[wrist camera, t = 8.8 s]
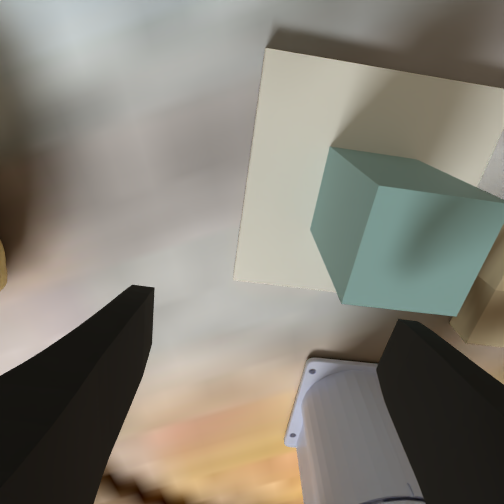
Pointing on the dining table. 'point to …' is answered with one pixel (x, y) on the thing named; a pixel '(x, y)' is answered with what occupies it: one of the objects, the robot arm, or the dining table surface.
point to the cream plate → (347, 137)
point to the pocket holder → (485, 302)
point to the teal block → (401, 232)
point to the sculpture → (2, 268)
